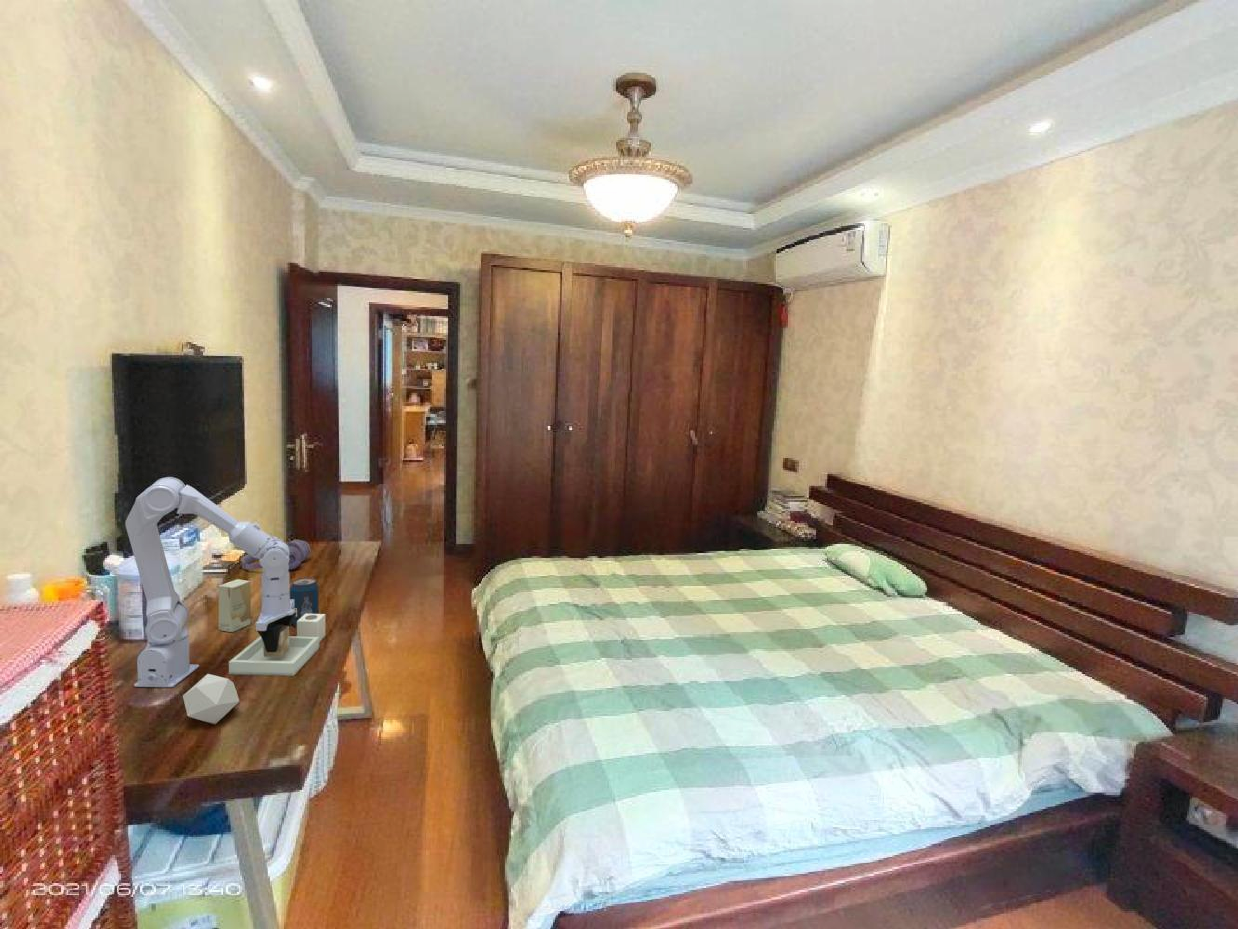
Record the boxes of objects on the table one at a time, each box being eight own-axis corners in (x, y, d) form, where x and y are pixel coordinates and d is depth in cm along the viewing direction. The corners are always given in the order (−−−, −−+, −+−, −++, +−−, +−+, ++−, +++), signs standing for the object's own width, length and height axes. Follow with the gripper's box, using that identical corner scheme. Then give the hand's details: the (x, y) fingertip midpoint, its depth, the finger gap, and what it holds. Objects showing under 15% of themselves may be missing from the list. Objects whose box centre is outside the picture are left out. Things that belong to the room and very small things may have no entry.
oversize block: (317, 644, 151) (317, 621, 151) (296, 643, 151) (296, 620, 150) (325, 635, 156) (325, 613, 155) (305, 635, 156) (305, 613, 155)
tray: (293, 675, 135) (293, 663, 135) (229, 674, 134) (228, 661, 134) (319, 648, 149) (319, 637, 149) (261, 646, 148) (260, 635, 147)
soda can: (305, 616, 167) (305, 575, 166) (324, 621, 165) (324, 579, 163) (284, 625, 161) (283, 582, 159) (303, 630, 159) (303, 587, 157)
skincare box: (232, 633, 154) (231, 588, 152) (218, 630, 155) (216, 585, 153) (252, 623, 160) (251, 580, 159) (238, 621, 161) (237, 578, 159)
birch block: (281, 657, 139) (281, 632, 139) (263, 656, 139) (263, 632, 138) (289, 649, 143) (289, 625, 143) (272, 648, 143) (271, 625, 142)
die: (249, 714, 121) (241, 666, 124) (225, 716, 112) (217, 664, 115) (205, 731, 119) (198, 682, 122) (177, 734, 111) (170, 681, 114)
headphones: (315, 556, 218) (257, 564, 214) (312, 535, 216) (252, 542, 213) (298, 572, 200) (234, 581, 196) (294, 549, 198) (229, 557, 195)
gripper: (278, 604, 132) (279, 662, 134) (307, 582, 147) (307, 634, 149) (245, 603, 132) (246, 661, 134) (277, 581, 146) (277, 633, 148)
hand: (276, 647), depth 141 cm, fingers closed on birch block, 4 cm apart
